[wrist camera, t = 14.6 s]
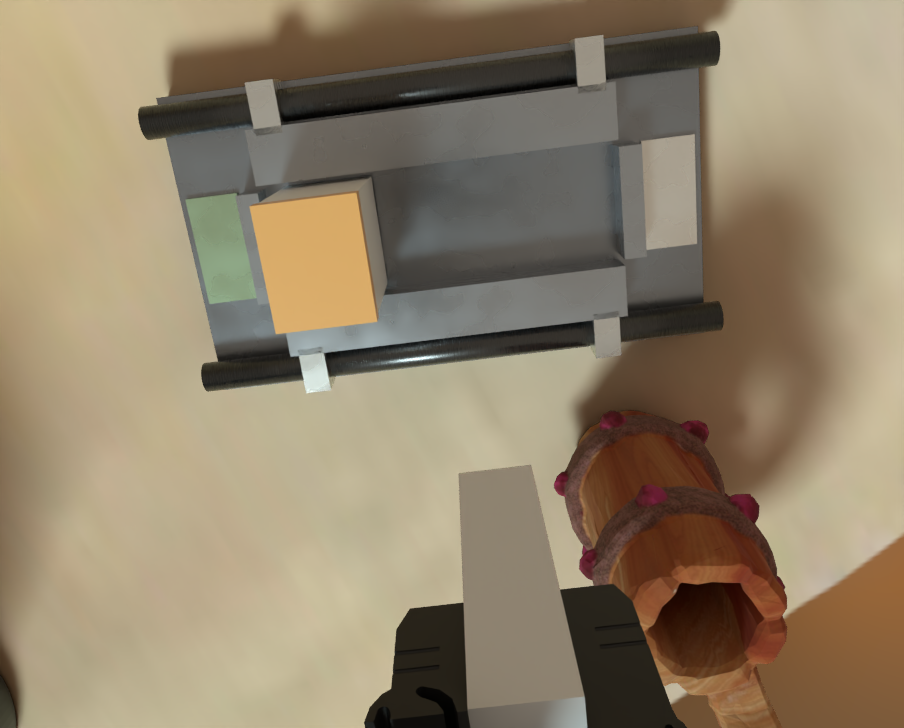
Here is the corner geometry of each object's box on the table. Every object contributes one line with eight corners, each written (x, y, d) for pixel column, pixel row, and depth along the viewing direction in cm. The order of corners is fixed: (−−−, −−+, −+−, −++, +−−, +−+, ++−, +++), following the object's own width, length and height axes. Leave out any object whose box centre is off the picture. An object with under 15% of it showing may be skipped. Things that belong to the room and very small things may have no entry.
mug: (526, 418, 42) (567, 587, 28) (672, 359, 41) (792, 503, 27) (619, 628, 46) (696, 866, 32) (753, 580, 45) (893, 804, 31)
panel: (223, 382, 41) (206, 404, 38) (156, 96, 37) (131, 97, 34) (704, 324, 40) (725, 342, 37) (698, 24, 36) (721, 19, 33)
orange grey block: (304, 293, 38) (275, 334, 32) (283, 185, 36) (249, 206, 30) (388, 283, 38) (377, 322, 31) (372, 174, 36) (356, 192, 30)
